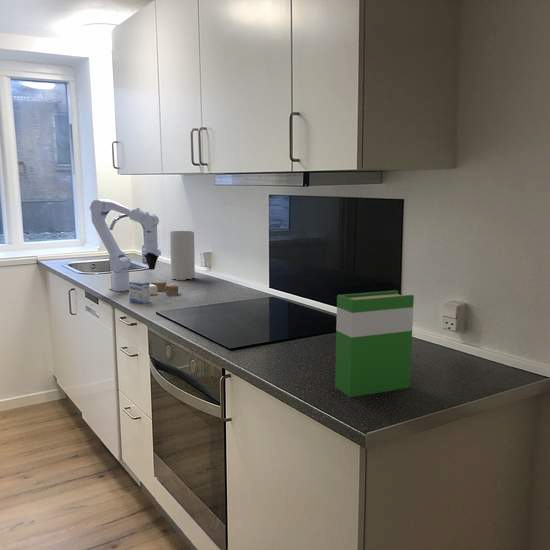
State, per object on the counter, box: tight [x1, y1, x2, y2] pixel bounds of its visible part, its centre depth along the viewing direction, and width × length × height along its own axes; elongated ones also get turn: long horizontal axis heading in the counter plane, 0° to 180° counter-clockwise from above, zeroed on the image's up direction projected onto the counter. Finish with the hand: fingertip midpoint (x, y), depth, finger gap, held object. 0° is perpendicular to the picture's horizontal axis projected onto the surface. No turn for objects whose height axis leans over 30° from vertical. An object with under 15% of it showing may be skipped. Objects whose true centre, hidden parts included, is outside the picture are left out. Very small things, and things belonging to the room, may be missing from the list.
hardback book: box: [334, 289, 415, 398], centre depth 149 cm, size 18×7×24 cm, turn 114°
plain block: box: [150, 283, 158, 296], centre depth 273 cm, size 5×5×4 cm
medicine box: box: [128, 280, 151, 304], centre depth 254 cm, size 8×4×9 cm, turn 62°
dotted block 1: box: [150, 280, 167, 292], centre depth 282 cm, size 5×5×4 cm
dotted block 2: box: [164, 283, 179, 296], centre depth 273 cm, size 5×5×4 cm
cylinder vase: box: [169, 230, 196, 281], centre depth 314 cm, size 12×12×25 cm
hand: (151, 269), depth 278 cm, fingers closed
